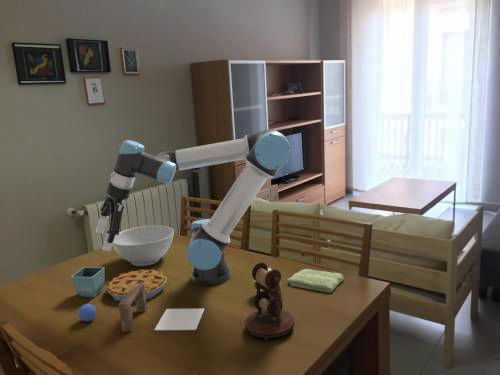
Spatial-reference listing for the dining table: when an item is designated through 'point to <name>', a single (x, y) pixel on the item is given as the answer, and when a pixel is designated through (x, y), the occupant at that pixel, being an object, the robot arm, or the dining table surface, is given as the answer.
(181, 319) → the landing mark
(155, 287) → the pie
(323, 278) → the washcloth
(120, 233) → the decorative bowl
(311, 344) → the dining table surface
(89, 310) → the ball
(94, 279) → the flower pot
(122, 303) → the bridge
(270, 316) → the brown wooden tall piece
